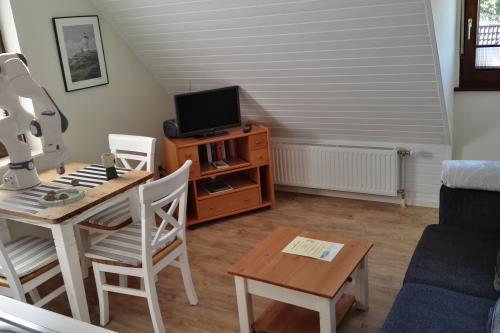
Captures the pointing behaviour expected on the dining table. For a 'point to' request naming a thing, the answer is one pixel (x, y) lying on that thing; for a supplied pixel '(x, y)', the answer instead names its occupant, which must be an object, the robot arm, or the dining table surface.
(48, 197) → the seated bead
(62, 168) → the bead
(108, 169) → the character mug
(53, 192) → the seated bead
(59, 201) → the groove tray
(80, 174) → the dining table surface
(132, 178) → the dining table surface
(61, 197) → the seated bead
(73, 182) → the bead
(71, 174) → the dining table surface
